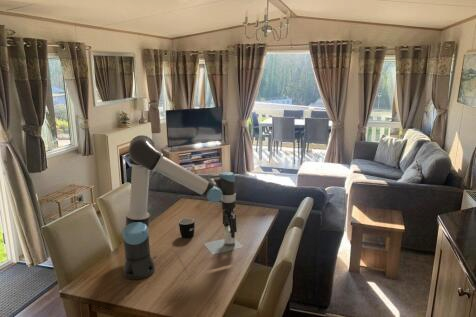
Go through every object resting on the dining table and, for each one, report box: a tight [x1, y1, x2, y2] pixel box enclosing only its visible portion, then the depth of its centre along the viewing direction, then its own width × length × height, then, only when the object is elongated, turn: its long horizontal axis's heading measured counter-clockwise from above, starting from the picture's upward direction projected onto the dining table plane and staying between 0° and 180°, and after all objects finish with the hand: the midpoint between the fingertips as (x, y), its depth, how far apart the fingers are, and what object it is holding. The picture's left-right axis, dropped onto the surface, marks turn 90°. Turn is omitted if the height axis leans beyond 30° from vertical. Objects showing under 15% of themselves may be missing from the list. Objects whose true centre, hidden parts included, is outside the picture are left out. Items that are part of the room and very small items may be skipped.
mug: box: [178, 217, 196, 239], centre depth 211 cm, size 12×9×10 cm
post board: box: [203, 238, 244, 255], centre depth 197 cm, size 18×14×8 cm
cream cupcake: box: [223, 227, 237, 244], centre depth 198 cm, size 6×6×7 cm
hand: (229, 239), depth 199 cm, fingers open, 6 cm apart
